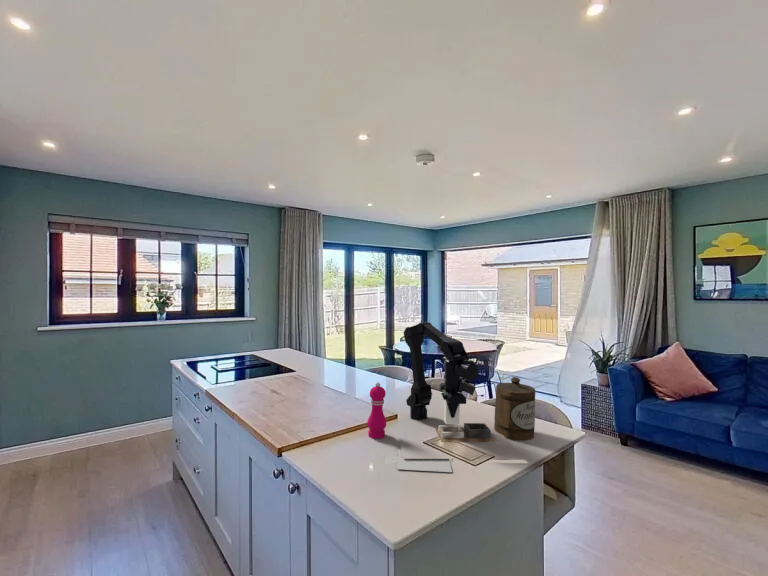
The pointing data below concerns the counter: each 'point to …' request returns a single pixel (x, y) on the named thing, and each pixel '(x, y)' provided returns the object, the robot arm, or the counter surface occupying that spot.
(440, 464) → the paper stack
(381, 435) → the pepper mill
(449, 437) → the brown board with frames
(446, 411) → the plug
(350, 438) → the counter surface
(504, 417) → the wooden container
